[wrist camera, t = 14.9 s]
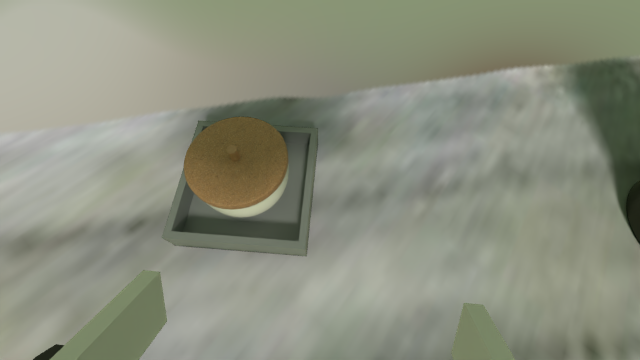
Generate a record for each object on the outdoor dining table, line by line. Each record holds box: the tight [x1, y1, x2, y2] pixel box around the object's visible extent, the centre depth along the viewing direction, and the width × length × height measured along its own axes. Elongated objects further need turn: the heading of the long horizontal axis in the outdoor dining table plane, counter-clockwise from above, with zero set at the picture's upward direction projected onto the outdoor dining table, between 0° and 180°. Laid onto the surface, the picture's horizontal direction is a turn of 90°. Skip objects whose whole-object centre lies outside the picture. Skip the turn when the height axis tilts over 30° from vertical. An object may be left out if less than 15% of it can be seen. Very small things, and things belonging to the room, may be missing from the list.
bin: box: [162, 121, 318, 256], centre depth 37 cm, size 16×16×4 cm
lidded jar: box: [184, 117, 289, 218], centre depth 34 cm, size 11×11×9 cm
